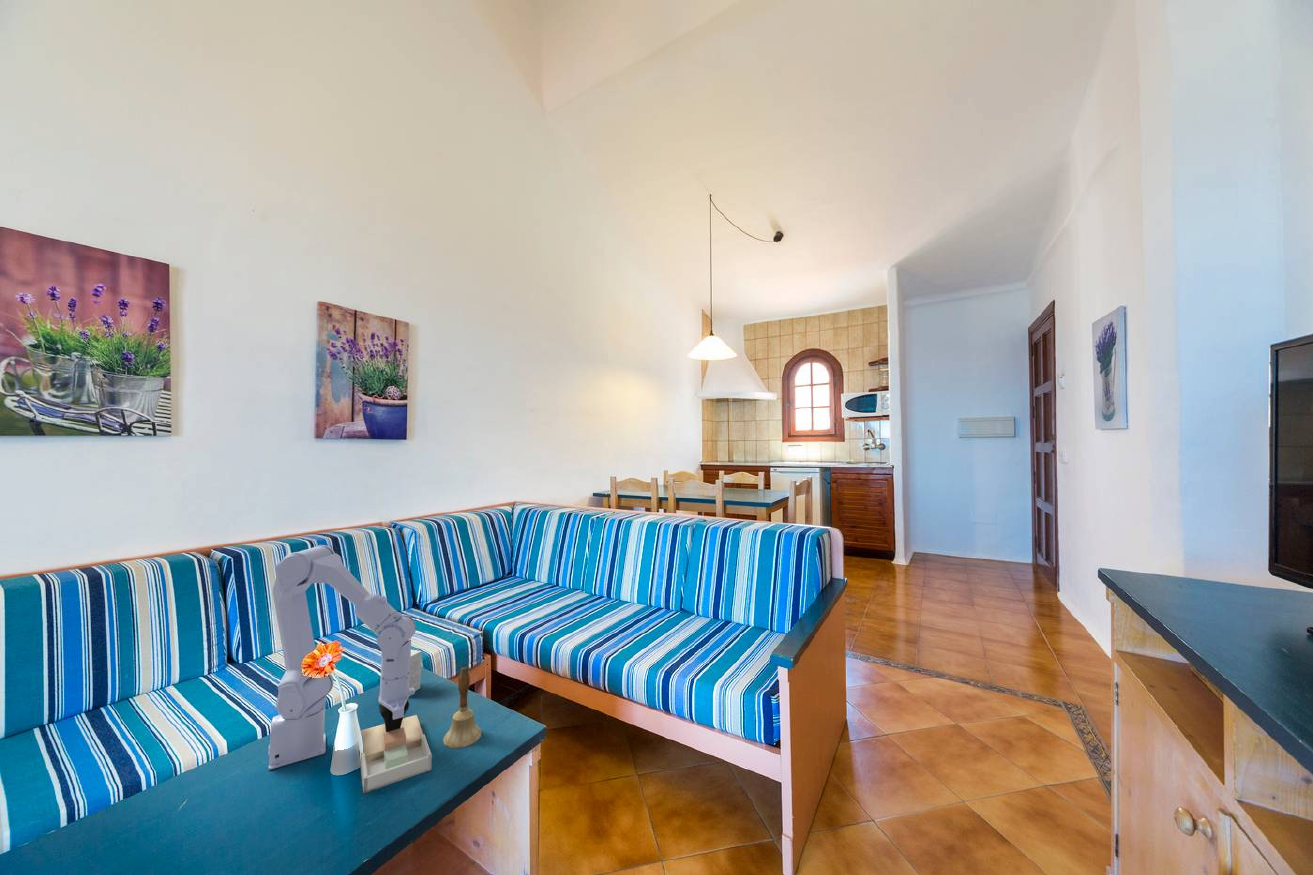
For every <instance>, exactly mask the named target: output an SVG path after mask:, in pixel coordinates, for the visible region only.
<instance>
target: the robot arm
mask: <svg viewBox="0 0 1313 875" xmlns="http://www.w3.org/2000/svg"><path fill="white" fill-rule="evenodd" d="M274 569H275V573H276V574H275V575H276V577H275V580H274V584H273V587H272V597H273V603H274V610H275V614H276V615H275V616H276V620H277V626H278V630H279V637H280V642H281V643H280V644H281V648H282V655H283V660H284V666H285V673H284V674H283V676H282V677H281V679H280V681H279V683H278V685H277V691H278V695H277V697H276V702H275V703H276V704H275V708H276V710H277V713H278V715H275V716H273V717H272V720H271V728H270V737H269V738H270V740H269V745H268V752H267V754H268V756H269V759H268V760H269V761H268V770H273V769H277V768H281V767H285V766H287V765H290V764H294V763H298V762H302V761H304V760H307V759H310V758H311V759H312V758H314V757H317V756H322V755H324V754H325V753H326V745H327V744H326V742H327V741H326V740H327V739H326V733H325V718H326V717H325V716H326V714H325V713H326V701H327V699H328V698H327V695H329V694H330V693H331V691H332V690H333V688H334V677H333V676H332V674H331V673H330V674H329V675H328V676H326V677H322V678H312V677H308V676H304V675H303V673H302V669H301V665H302V661H303V659H304V658H305V656H306V655H307V654H309V653H311V652H312V651H314V650H316V645H315V640H314V633H313V628H312V622H311V616H310V611H309V605H308V599H307V594H306V591H307V589H309V588H310V586H311V585H312V584H327V585H329V586H330V587H332V589H334V590H335V591H336V592H338V593H339V594H340V595H341V596H343V598H345V599H346V600H347V601H349V603H351V604H352V605H353V606H355V610H354V611H355V612H354V614H355V616H356V618H358V619H359V620H360V621H362V623H364V625H365V626H366V627H367V628H369V630H371V631H372V632H373V633H374V634H375V635H376V636H377V637H376V638H375V639H376V644H377V646H378V648H380V651H381V663H380V682H379V683H380V684H379V696H378V700H377V701H378V703H379V704H378V709H379V713H380V715H381V717H382V719H383V721H384V724H385V729H386V732H389V731H392V730H396V729H399V728H401V724H402V720H403V718H405V715H406V713H407V711H408V710H409V708H410V703H409V698H410V696H413V695H415V693H416V691H415V689H414V688H409V681H410V659H411V650H412V640H411V638H413V636H414V635H415V634H416V631H417V625H416V622H415V620H414V619H413V617H412V616H411V615H409V614H403V613H401V612H400V611H397V610H396V609H395V608H394V607H393V606H392V605H391V604H390V603H389V602H388V598H387V597H386V595H383V596H381V595H380V594H378V593H370V592H369V591H368V590H367V589H366V588H365V587H364V585H362V583H360V582H359V580H358V579H357V578H356V577H355V576H354V575H353V574H352V572H350V571H349V569H348V568H347V567H346V566H345V565H344V564H343V559H342V557H341V555H339V554H338V553H335V551H334V549H333V548H332V547H331V546H329V545H324V544H319V545H316V546H314V547H311V548H307V549H303V550H300V551H296V552H290V553H289V554H286V555H285V556H284V557H283V558H282V559H281V560H280V561H279V562H278V563H277V564H276V565H275V567H274Z"/></svg>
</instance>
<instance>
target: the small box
mask: <svg viewBox="0 0 1313 875" xmlns="http://www.w3.org/2000/svg"><path fill="white" fill-rule="evenodd" d="M422 660H423V651H422V650H416V649H411V659H410V681H409V688H414V689H415V692H417V691H418V690H419V689H421V681H422V680H421V679H422V678H421V676H422V664H423V663H422V662H423V661H422Z"/></svg>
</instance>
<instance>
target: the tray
mask: <svg viewBox="0 0 1313 875" xmlns="http://www.w3.org/2000/svg"><path fill="white" fill-rule="evenodd" d="M407 752H408V762H407V763H404V764H401V765H398V766H395V767H392V768H389V769H386V770H385V769H384V764H383V762H384V758H382V759H379V760H376V761H373V762H370V763H366V760H365V753H361V767H360V775H361V784H362V791H363V792H362V794H366V793H369V792H372V791H374V790H378V789H380V788H383V787H386V786H390V785H391V784H395V783H397V782H401V781H403V780H406V779H409V778H413V777H414V776H417V775H420V774H421V775H422V774H423V773H427V772H429V771H431V770H432V765H433V763H432V762H433V755H432V752H431V749H430V747H429V744H428V740H427V738H426V734H425V733H423V735H422V737H421V746H420V747H417V748H413V749H410V750H407Z"/></svg>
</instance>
